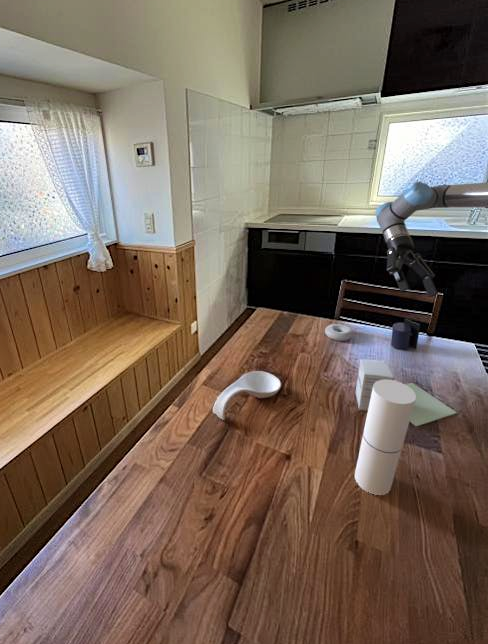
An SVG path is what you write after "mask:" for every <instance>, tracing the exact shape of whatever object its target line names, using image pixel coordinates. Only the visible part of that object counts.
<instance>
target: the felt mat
mask: <svg viewBox="0 0 488 644" xmlns="http://www.w3.org/2000/svg"><path fill="white" fill-rule="evenodd" d="M404 384H405V383H404ZM405 385H407V386H408V387H410V388H411V389H412V390H413V391H414V392H415V394H416V400H415V403H414V407H413V410H412V414H411V418H410V421H409V423H411V424H412V425H413V426H414V427H416V428H417V427H419V426H423V425H427V424H429V423H431V422H435V421H438V420H442V419H444V418H447V417H451V416H454V415H456V414H458V412H457V411H455V410H454V409H452V408H451V407H449V406H448V405H446V404H445V403H444V402H442V401H440V399H438V398H436V397H435V396H434V395H432V394H430V393H429V392H427V391H425V390H424V389H422V388H421V387H420V386H418V385H417V384H415V383H413V382H409V383H406V384H405Z"/></svg>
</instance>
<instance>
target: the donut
mask: <svg viewBox="0 0 488 644" xmlns="http://www.w3.org/2000/svg"><path fill="white" fill-rule="evenodd" d="M324 333H325V335H326V337H328V338H329V339H330V340H334V341H338V342H344V341H345V342H346V341H348V340H350V339H351V338H352V337H353V336H354V335H353V334H354V333H353V330H352V328H350V327H349V326H347V325H345V324H339V323H331V324H329V325H327V326H326V327H325V329H324Z"/></svg>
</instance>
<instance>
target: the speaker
mask: <svg viewBox="0 0 488 644" xmlns="http://www.w3.org/2000/svg"><path fill="white" fill-rule="evenodd" d="M420 330H421V324H420V323H417V322H414V321H413V320H410V319H408V318H404V321H403V322H395V323H393V324H392V331H391V342H390V346H391V347H392V348H393V349H395V350H400V351H405V350H408V349H409V348H410V347H411V348H412V349H415V350H417V348H418V341H419V336H420Z"/></svg>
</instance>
